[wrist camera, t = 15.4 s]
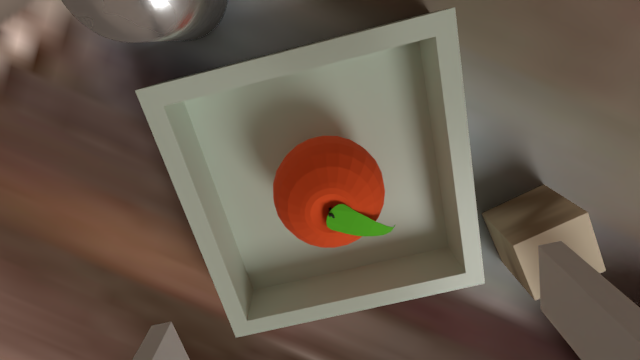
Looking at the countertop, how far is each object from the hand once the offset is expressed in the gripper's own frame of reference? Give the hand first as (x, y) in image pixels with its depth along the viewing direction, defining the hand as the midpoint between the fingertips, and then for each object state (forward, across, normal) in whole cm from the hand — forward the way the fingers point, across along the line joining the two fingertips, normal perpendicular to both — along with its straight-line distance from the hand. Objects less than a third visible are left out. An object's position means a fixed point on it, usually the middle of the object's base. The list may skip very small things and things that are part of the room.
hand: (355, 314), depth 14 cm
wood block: (+16, +13, -8) cm, 22 cm away
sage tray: (+16, -1, 0) cm, 16 cm away
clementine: (+15, 0, 0) cm, 15 cm away
